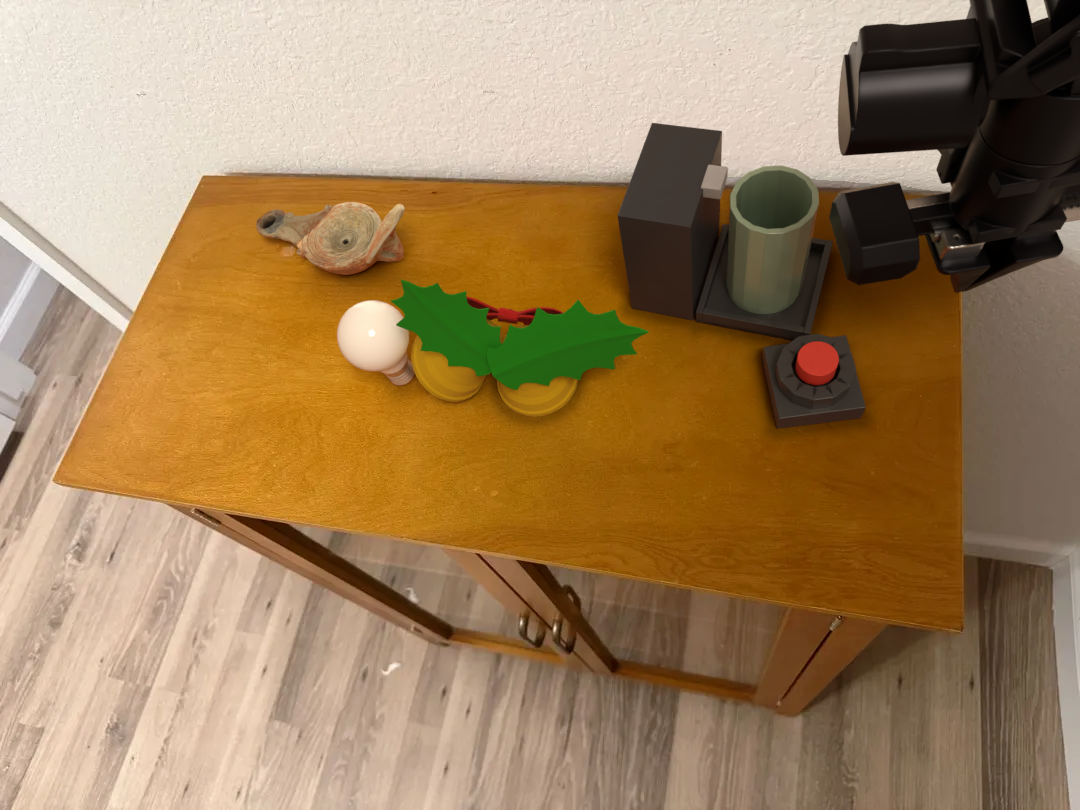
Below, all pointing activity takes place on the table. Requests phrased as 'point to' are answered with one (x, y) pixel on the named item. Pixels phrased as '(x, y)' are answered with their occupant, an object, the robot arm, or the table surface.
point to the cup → (769, 237)
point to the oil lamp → (338, 235)
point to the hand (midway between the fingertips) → (958, 286)
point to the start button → (816, 363)
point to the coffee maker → (695, 238)
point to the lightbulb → (376, 340)
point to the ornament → (508, 347)
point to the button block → (808, 401)
